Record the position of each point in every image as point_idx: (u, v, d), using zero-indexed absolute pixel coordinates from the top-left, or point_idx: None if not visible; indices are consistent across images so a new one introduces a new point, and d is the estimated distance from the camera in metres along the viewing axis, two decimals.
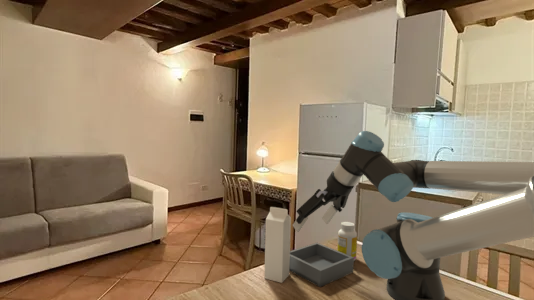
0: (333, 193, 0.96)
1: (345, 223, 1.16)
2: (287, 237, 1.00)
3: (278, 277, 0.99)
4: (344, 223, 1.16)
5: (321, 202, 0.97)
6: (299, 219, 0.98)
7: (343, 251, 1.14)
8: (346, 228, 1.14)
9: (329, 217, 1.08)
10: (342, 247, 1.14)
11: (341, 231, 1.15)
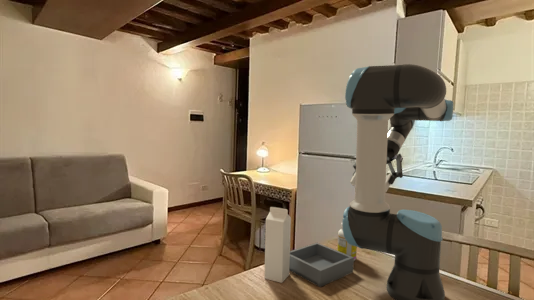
0: None
1: None
2: (287, 237, 1.00)
3: (278, 277, 0.99)
4: None
5: None
6: None
7: (343, 251, 1.14)
8: None
9: None
10: (342, 247, 1.14)
11: (341, 231, 1.15)
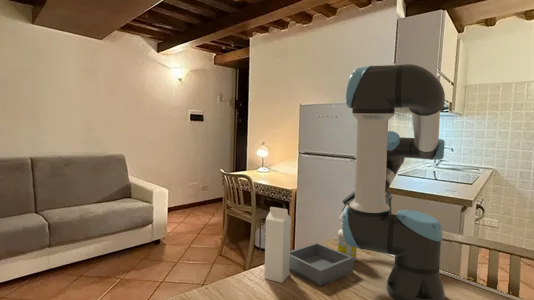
0: None
1: None
2: (287, 237, 1.00)
3: (278, 277, 0.99)
4: None
5: None
6: None
7: (343, 251, 1.14)
8: None
9: None
10: (342, 247, 1.14)
11: (341, 231, 1.15)
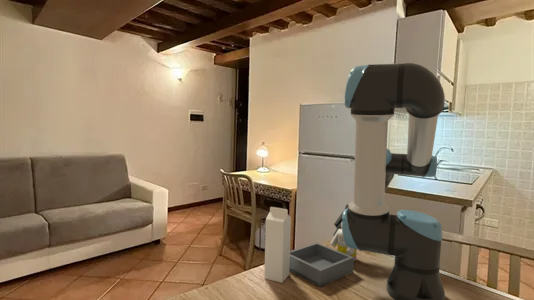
0: None
1: None
2: (287, 237, 1.00)
3: (278, 277, 0.99)
4: None
5: None
6: None
7: (343, 251, 1.14)
8: None
9: None
10: (342, 247, 1.14)
11: (341, 231, 1.15)
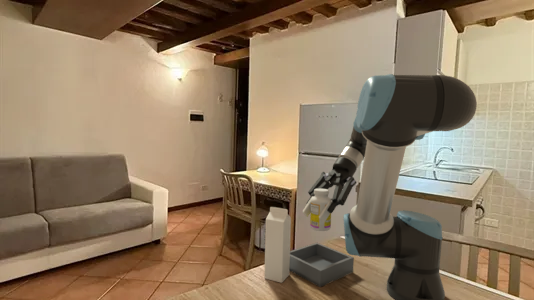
0: (334, 170, 1.12)
1: (318, 189, 1.06)
2: (287, 237, 1.00)
3: (278, 277, 0.99)
4: (317, 189, 1.06)
5: None
6: None
7: (316, 219, 1.04)
8: (319, 194, 1.04)
9: None
10: (315, 214, 1.04)
11: (314, 198, 1.05)
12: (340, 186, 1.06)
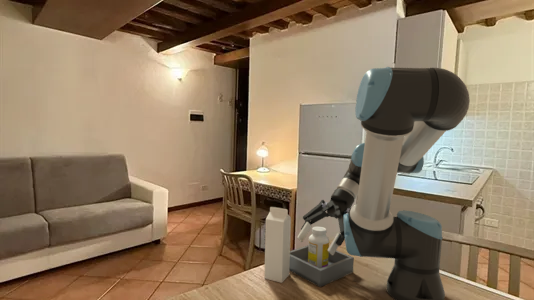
0: (332, 202, 1.12)
1: (316, 228, 1.07)
2: (287, 237, 1.00)
3: (278, 277, 0.99)
4: (315, 228, 1.07)
5: None
6: None
7: (313, 258, 1.05)
8: (317, 233, 1.05)
9: None
10: (312, 254, 1.05)
11: (312, 237, 1.06)
12: (342, 218, 1.07)
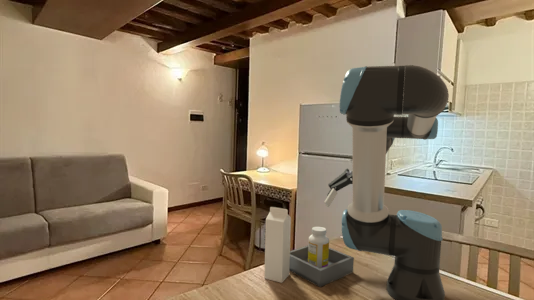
0: None
1: (316, 228, 1.07)
2: (287, 237, 1.00)
3: (278, 277, 0.99)
4: (315, 228, 1.07)
5: None
6: None
7: (313, 259, 1.05)
8: (317, 234, 1.04)
9: None
10: (312, 254, 1.05)
11: (311, 237, 1.06)
12: None
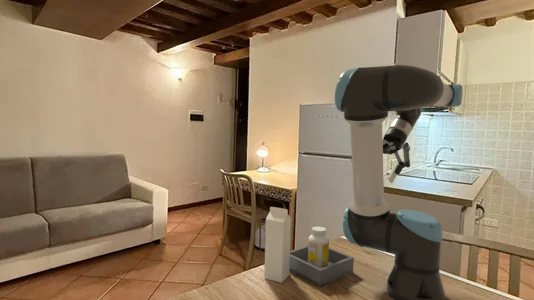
0: (386, 141, 1.21)
1: (316, 228, 1.07)
2: (287, 237, 1.00)
3: (278, 277, 0.99)
4: (315, 228, 1.07)
5: None
6: None
7: (313, 258, 1.05)
8: (316, 233, 1.05)
9: None
10: (312, 254, 1.05)
11: (311, 237, 1.06)
12: (397, 152, 1.15)
